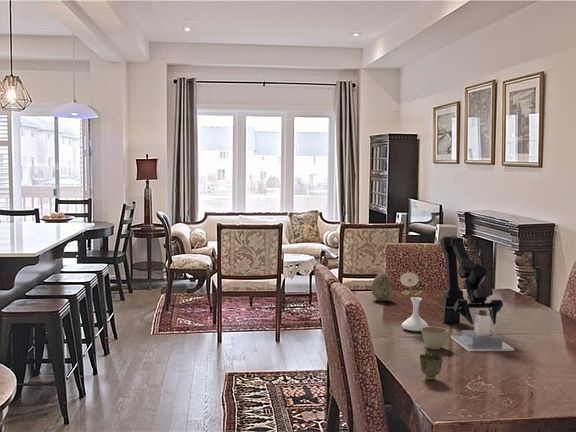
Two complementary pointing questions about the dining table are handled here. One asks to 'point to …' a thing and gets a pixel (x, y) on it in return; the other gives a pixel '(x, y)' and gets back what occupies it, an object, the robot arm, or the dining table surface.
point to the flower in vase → (414, 321)
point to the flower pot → (434, 337)
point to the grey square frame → (481, 342)
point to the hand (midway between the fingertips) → (483, 324)
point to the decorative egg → (382, 287)
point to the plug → (482, 324)
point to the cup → (430, 365)
